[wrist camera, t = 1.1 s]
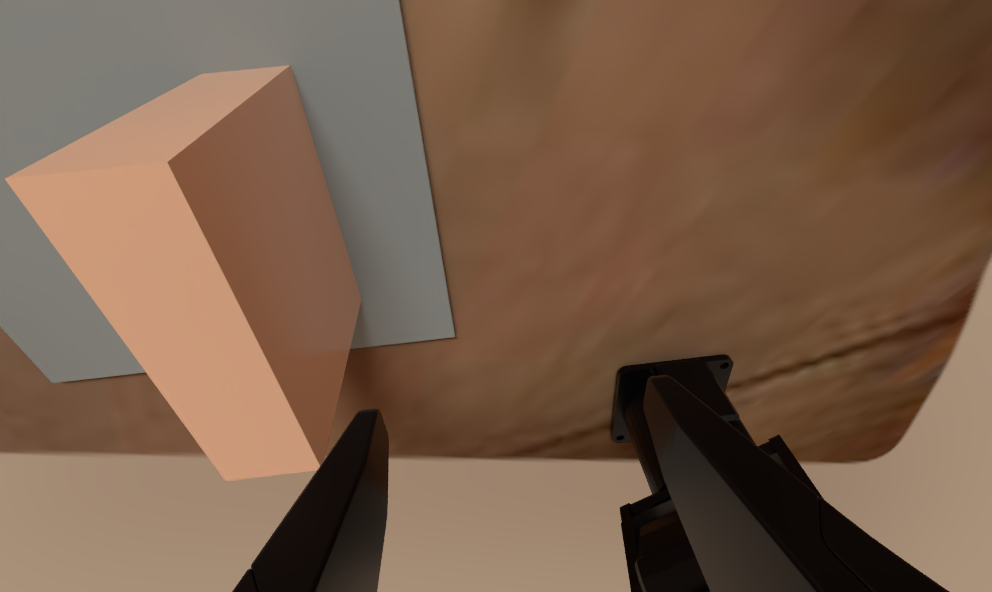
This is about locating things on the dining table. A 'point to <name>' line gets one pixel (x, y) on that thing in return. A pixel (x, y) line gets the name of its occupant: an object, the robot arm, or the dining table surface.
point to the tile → (214, 261)
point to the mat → (168, 64)
